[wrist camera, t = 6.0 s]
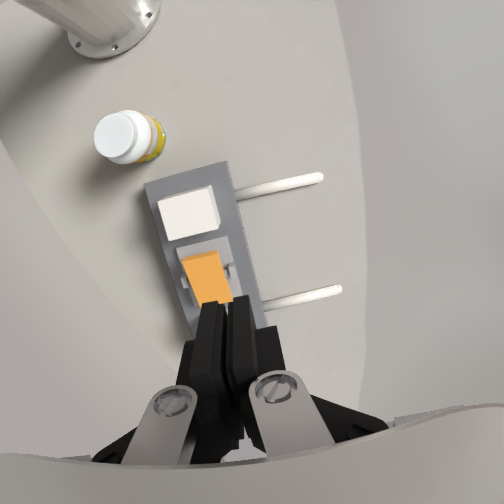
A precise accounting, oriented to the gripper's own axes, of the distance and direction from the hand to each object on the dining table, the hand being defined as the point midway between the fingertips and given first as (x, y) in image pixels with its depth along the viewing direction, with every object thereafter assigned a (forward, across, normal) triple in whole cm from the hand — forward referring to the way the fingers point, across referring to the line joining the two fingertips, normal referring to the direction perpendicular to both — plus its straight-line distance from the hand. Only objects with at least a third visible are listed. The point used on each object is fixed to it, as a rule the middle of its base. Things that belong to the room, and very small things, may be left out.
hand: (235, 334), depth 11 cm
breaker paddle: (+21, +4, +6) cm, 22 cm away
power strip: (+26, -1, +6) cm, 27 cm away
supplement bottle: (+27, +9, -10) cm, 30 cm away
